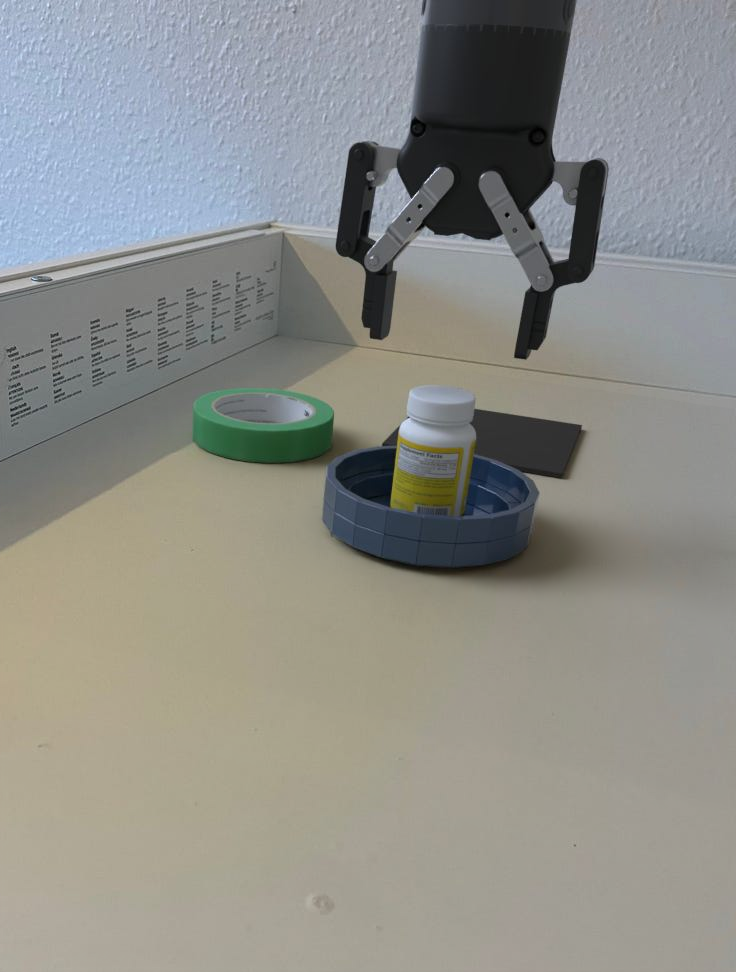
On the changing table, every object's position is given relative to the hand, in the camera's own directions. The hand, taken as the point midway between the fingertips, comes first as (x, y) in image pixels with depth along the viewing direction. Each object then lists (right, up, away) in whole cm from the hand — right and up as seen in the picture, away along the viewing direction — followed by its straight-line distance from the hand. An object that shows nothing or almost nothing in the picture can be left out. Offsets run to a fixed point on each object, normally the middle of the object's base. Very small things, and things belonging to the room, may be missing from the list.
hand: (448, 346), depth 58 cm
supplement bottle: (0, -10, +5) cm, 11 cm away
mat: (+8, -1, +24) cm, 25 cm away
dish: (0, -10, +6) cm, 12 cm away
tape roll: (-11, -2, +20) cm, 23 cm away
